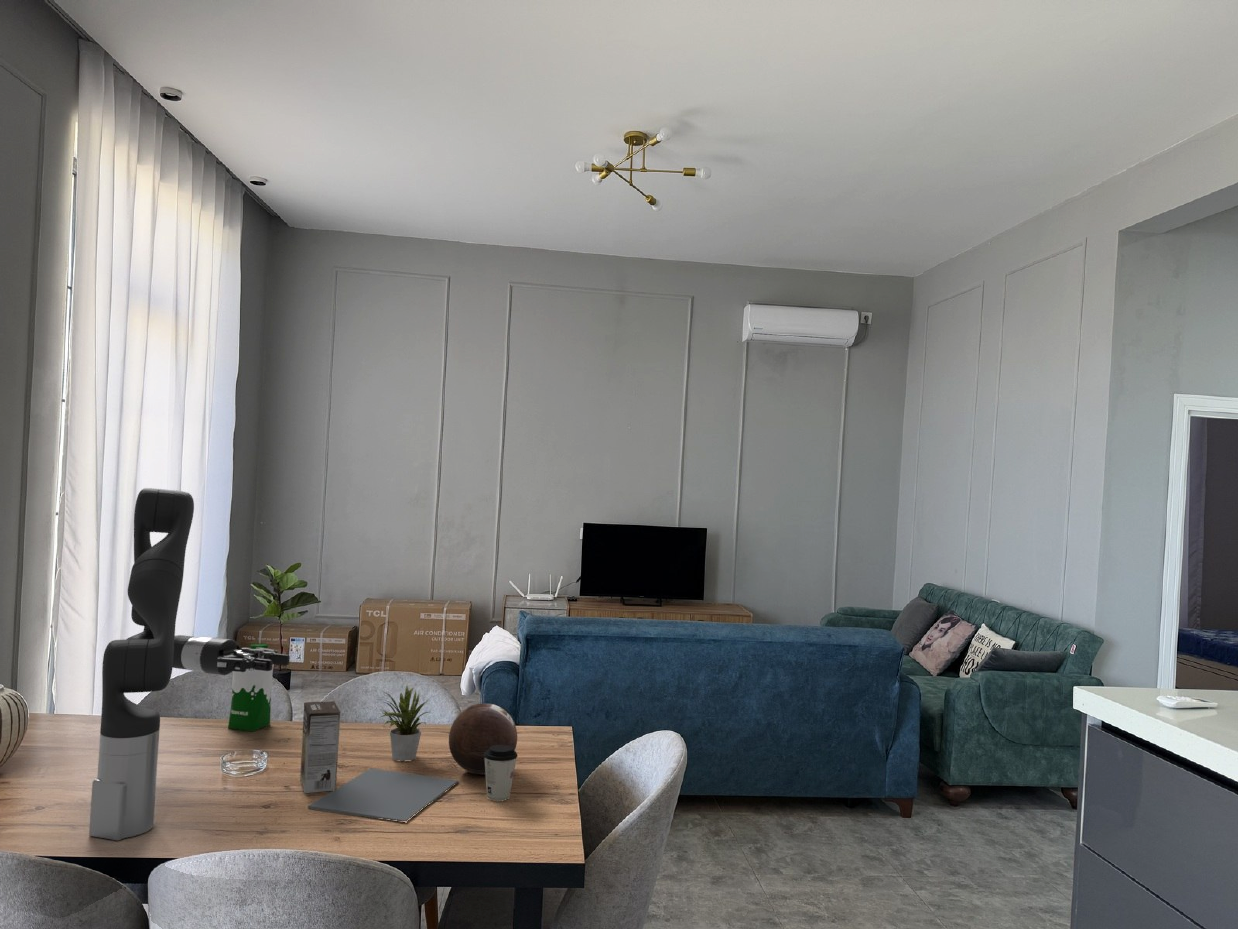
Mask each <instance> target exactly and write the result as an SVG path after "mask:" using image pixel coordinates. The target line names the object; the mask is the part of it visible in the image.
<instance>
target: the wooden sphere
mask: <svg viewBox="0 0 1238 929" xmlns="http://www.w3.org/2000/svg"><path fill="white" fill-rule="evenodd" d="M517 743H518V730H517V727H516V723H515V721H514V720H513V718H512V716H511V715H510V714H509V713H508V712H507V711H506V710H505V709H504V708H503V707H501V706H498V705H496V704H492V703H486V702H485V703H484V702H483V703H476V704H473V705H471V706H468V707H467V708H465V709H463V710H462V711H461V712H460V713H459V714H457V716H456V717H455V719H454V720H453V722H452V724H451V727H450V730H449V733H448V746H449V751H450V753H451V756H452V758H453V760H454V761H455V763H456V764H457V765H458V766H459V767H460V768H461V769H463V770H464V771H466V772H468V773H471V774H475V775H486V773H485V757H484V753H485V751H487V750H489V748H490V747H491V746H494V745H507V746H512V747H513V748H514V751H516V748H517V745H518V744H517Z"/></svg>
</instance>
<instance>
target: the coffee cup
mask: <svg viewBox="0 0 1238 929" xmlns="http://www.w3.org/2000/svg"><path fill="white" fill-rule="evenodd" d="M484 757H485V773H486V774H485V787H486V798H487V797H488V798H489V799H491V800H495V801H494V802H503V801H502V800H505V799H508V798H509V799H510V796H511V791H512V784H513V779H514V773H515V767H516V762H517V761H516V760H517V758H518V753H517V751H516V750H515V751H514V748H513V747H512V746H507V745H494V746H491V747H490V748H489V750H487V751H485V753H484ZM489 799H488V800H489ZM509 799H508V800H509ZM491 800H490V801H491Z"/></svg>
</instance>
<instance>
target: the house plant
mask: <svg viewBox="0 0 1238 929" xmlns="http://www.w3.org/2000/svg"><path fill="white" fill-rule="evenodd" d="M413 691H414V693H413ZM381 692H382V693H385V694H386V695H385V696H387V697H390V700H391V701H392V702H390V701H388V700H385V699H384V701H385V702H386V704H387V706H389V707H390V709H392V711H393V712H388V711H386V710H383V709H379V710H380V711H383V713H382V715H380V717H379V719H380V718H381V719H382V718H384V717H387V719H388V720H386V721H385V722H384V725H383V726H385V725H387V724H389V725H390V726H389V728H391V727H392V726H394V725H395V726H396V727H394V728H391V729H390V730H389V737H390V748H391V759H392V758H393V759H392V760H393V761H394V760H400V761H405V760H413V759H415V758H417V753H418V749H419V745H420V740H421V735H422V730H421V729H420V728H418V727H419V726H420V725H421V724H425V725H427V723H426V722H419V721H420V719H421V718H420V717H422V716H423V715H425V714H428V713H430V714H431V713H432V714H433V712H432V711H425V712H423V713H421V714H420V715H418V714H419V712H420V711H421V709H422V708H423V706H424V705H425V704H427V702H429V699H427V700H426V701H424V702H423V703H421V704H420V705H419V702H420V693H418V694H417V690H416V689H415V690H414V687H412V688H411V689H409V686H408V685H406V686H405V690H404V692H405V693H404V696H403V693H402V692H400V694H399V701H398V704H397V702H396V700H395V698H393V696H391V695H390V694H389V693H388V692H385V691H382V690H380V693H381ZM412 694H413V696H412ZM412 697H413V698H412ZM411 698H412V702H411ZM376 700H377V701H382V699H376ZM418 705H419V706H418ZM393 718H394V719H395V720H394V719H393ZM415 760H416V759H415ZM413 761H414V760H413Z"/></svg>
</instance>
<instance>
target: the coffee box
mask: <svg viewBox="0 0 1238 929" xmlns="http://www.w3.org/2000/svg"><path fill="white" fill-rule="evenodd" d="M302 718H303V720H302V739H301V756H300V757H301V759H300V775H299V777H300V782H301V786H302V789H303V793H304V794H311V793H322V792H332V791H333V790H335V789H337V788H336V786H337V772H338V756H339V746H340V745H339V744H340V728H341V727H340V726H341V711H340V709H339V707H338V705H337V703H336V701H333V700H332V701H306V702H303V717H302Z"/></svg>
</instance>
